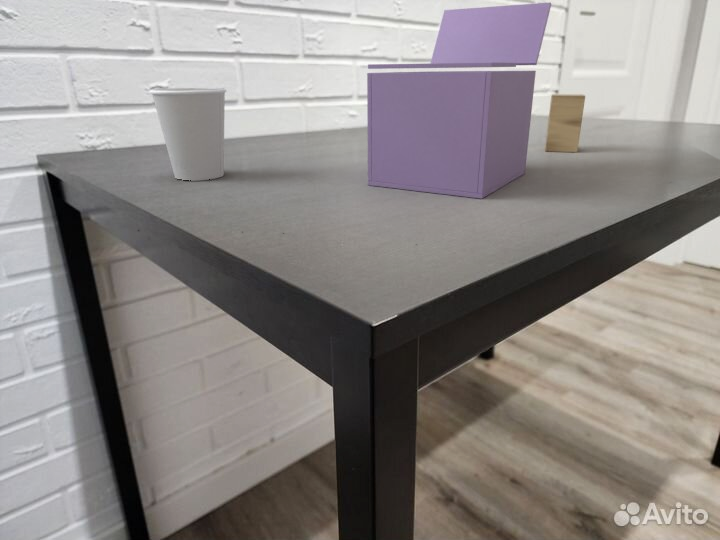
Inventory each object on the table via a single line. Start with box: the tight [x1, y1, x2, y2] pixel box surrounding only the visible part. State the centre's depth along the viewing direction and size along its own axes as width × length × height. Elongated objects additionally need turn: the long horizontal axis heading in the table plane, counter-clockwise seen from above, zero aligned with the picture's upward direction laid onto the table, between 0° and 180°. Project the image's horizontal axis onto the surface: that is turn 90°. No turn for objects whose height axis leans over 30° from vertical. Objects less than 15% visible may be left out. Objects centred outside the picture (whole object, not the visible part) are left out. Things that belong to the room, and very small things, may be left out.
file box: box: [366, 62, 537, 200], centre depth 57 cm, size 15×13×12 cm
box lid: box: [430, 2, 552, 66], centre depth 61 cm, size 7×13×1 cm
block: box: [544, 93, 586, 153], centre depth 77 cm, size 4×4×8 cm
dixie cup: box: [149, 86, 227, 182], centre depth 60 cm, size 8×8×10 cm
